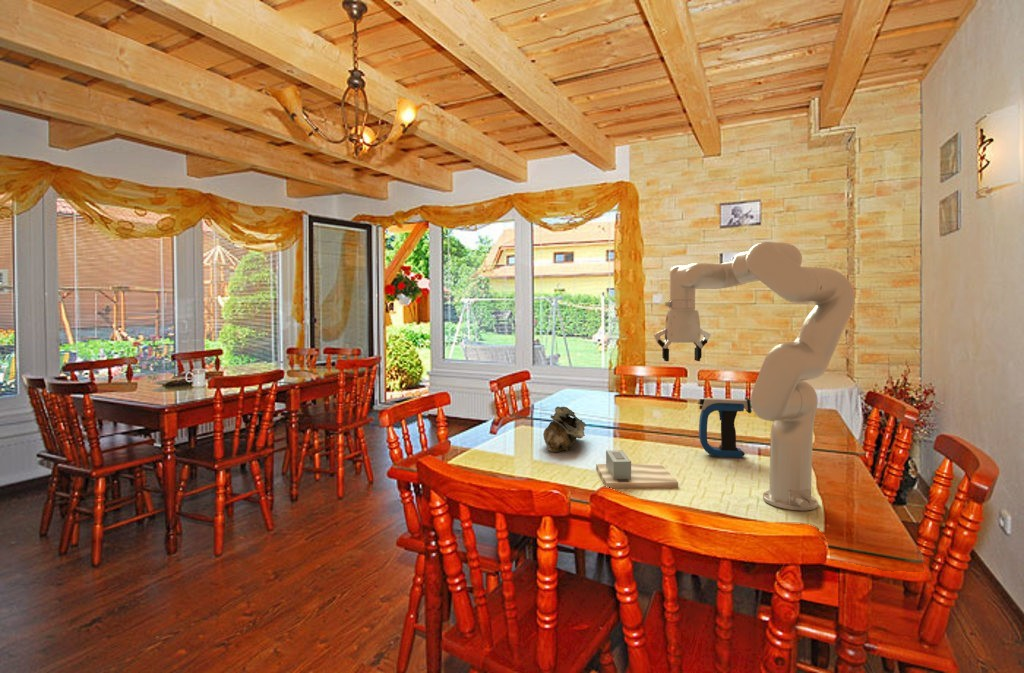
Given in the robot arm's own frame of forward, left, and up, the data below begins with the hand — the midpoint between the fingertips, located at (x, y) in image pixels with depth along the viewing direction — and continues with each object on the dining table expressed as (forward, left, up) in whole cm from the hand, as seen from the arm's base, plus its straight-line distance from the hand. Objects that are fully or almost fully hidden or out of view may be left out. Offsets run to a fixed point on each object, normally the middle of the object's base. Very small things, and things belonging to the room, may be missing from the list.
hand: (681, 360), depth 170 cm
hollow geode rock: (+28, +33, -34) cm, 55 cm away
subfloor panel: (-11, +17, -33) cm, 39 cm away
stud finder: (-11, +22, -32) cm, 40 cm away
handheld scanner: (+11, -18, -34) cm, 40 cm away
